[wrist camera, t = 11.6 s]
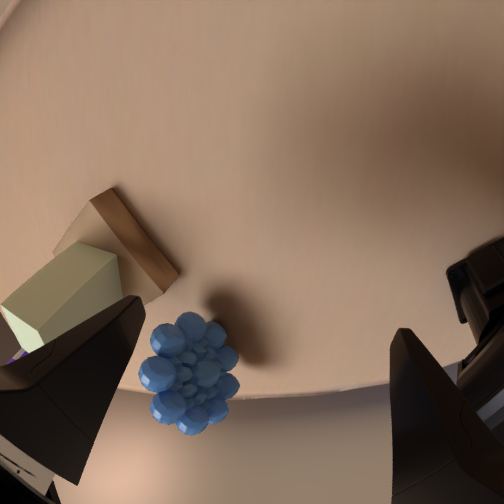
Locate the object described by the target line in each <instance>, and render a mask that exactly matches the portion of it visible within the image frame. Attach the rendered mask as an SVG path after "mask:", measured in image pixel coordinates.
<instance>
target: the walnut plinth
mask: <svg viewBox="0 0 504 504" xmlns="http://www.w3.org/2000/svg"><path fill="white" fill-rule="evenodd" d="M76 241H77V242H80V243H83V244H86V245H89V246H92V247H95V248H98V249H101V250H104V251H107V252H110V253H113V254H116V255H117V261H118V268H119V275H120V281H121V287H122V293H123V298H124V297H126V296H128V295H131V294H132V295H137V296H140V297H141V299H142V302H143V305H145V304H147V303H149V302H150V301H152V300H154V299H156V298H157V297H159V296H161V295H163V294H164V293H165V292H166V290H167V289H168V288H169V287H170V285H171V284H172V283H173V281H174V280H175V279H176V278H177V276H178V275H179V274H178V272H177V271H176V270H175V269H174V268H173V266H172V265H171V264H170V263H169V262H168V260H167V259H166V258H165V257H164V255H163V254H162V253H161V252H160V251H159V249H158V248H157V247H156V246H155V244H154V243H153V242H152V241H151V239H150V238H149V237H148V236H147V234H146V233H145V232H144V231H143V229H142V228H141V227H140V225H139V224H138V223H137V222H136V220H135V219H134V218H133V216H132V215H131V214H130V212H129V211H128V210H127V209H126V207H125V206H124V205H123V203H122V202H121V201H120V199H119V198H118V197H117V195H116V194H115V193H114V191H113V190H112V188H110V189H108V190H106V191H104V192H103V193H101V194H99V195H97V196H96V197H94V198H92V199H90V200H89V201H88V202H87V204H86V205H85V206H84V208H83V209H82V210H81V212H80V213H79V214H78V216H77V217H76V218H75V220H74V221H73V223H72V224H71V225H70V227H69V228H68V230H67V231H66V232H65V234H64V235H63V237H62V238H61V240H60V241H59V243H58V244H57V246H56V247H55V249H54V250H53V252H52V253H53V254H54V255H55V257H56V256H58V255H59V254H60V253H62V252H63V251H64V250H65V249H67V248H68V247H69V246H71V245H72V244H73V243H75V242H76Z"/></svg>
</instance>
